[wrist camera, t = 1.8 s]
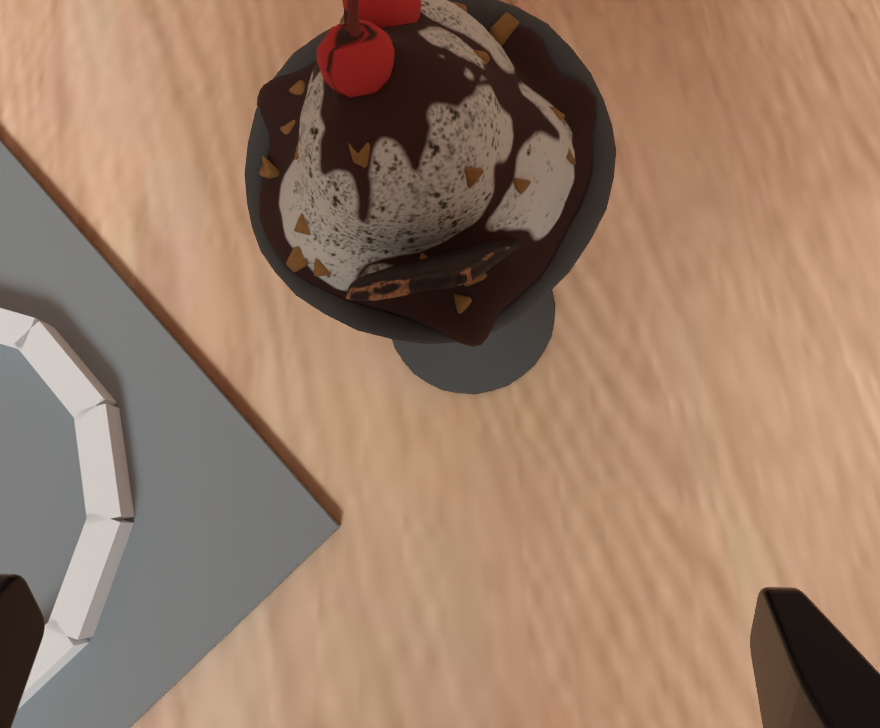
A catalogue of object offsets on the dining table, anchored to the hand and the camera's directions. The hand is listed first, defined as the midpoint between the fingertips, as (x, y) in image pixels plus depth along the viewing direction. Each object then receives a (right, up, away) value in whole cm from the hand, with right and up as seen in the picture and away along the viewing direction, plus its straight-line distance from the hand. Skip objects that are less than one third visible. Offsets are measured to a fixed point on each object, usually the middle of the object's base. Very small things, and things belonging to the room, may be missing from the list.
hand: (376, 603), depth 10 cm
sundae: (+2, +4, +15) cm, 15 cm away
